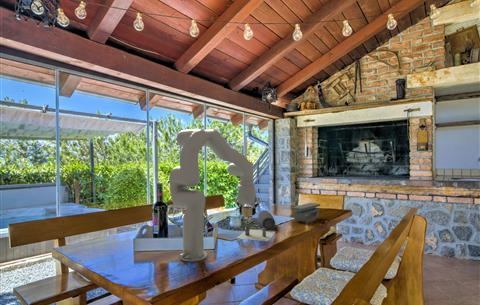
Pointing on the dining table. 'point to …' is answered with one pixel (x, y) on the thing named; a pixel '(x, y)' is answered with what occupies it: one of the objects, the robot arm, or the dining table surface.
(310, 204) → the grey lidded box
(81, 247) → the dining table surface
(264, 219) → the bluetooth speaker
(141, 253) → the dining table surface
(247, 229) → the hub post
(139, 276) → the dining table surface
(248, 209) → the brass ring
